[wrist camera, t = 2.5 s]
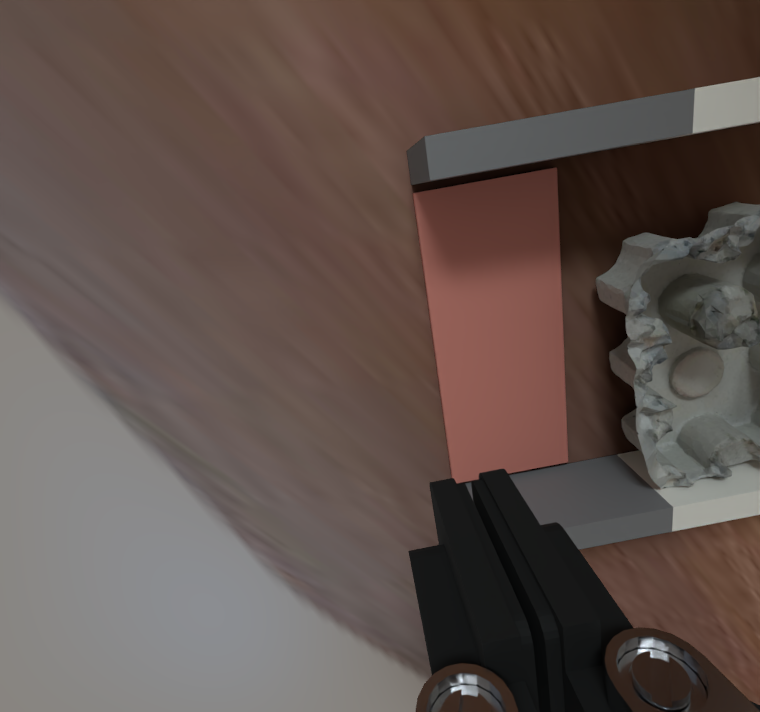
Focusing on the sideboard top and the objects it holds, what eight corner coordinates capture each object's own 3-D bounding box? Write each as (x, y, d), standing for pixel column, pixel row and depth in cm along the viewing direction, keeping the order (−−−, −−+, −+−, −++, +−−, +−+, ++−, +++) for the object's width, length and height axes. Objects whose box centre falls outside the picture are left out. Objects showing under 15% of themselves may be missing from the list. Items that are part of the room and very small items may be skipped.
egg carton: (775, 421, 21) (863, 475, 17) (610, 459, 22) (659, 520, 18) (783, 182, 17) (899, 183, 13) (583, 238, 18) (638, 255, 14)
